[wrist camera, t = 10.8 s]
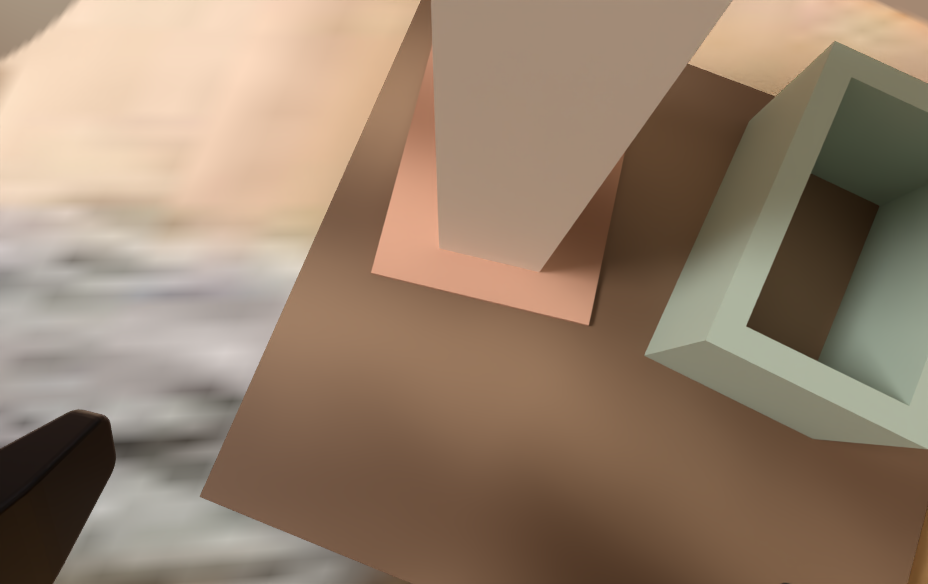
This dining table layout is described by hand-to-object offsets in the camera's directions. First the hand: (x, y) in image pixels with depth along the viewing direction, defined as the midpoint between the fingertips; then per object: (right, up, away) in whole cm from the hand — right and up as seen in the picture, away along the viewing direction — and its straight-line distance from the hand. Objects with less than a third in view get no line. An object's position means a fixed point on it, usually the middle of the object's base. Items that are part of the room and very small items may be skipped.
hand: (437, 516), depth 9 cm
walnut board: (+4, +2, +9) cm, 10 cm away
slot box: (+9, +3, +8) cm, 12 cm away
